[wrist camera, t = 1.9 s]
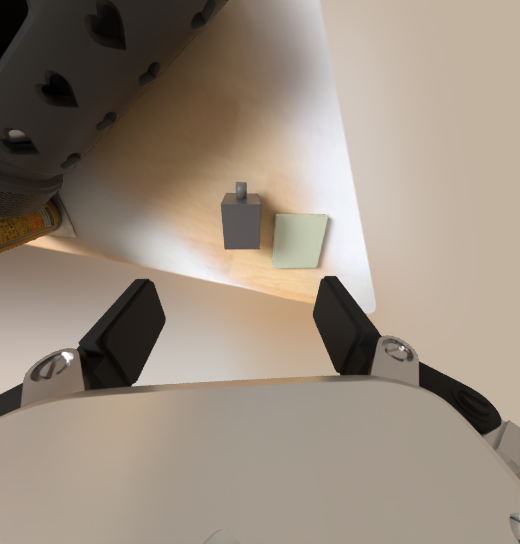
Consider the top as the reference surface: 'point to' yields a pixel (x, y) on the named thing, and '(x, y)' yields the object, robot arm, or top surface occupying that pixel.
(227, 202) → the block
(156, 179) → the top surface
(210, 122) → the top surface
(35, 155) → the muzzle brake
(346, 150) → the top surface
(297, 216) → the mat
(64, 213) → the condiment
